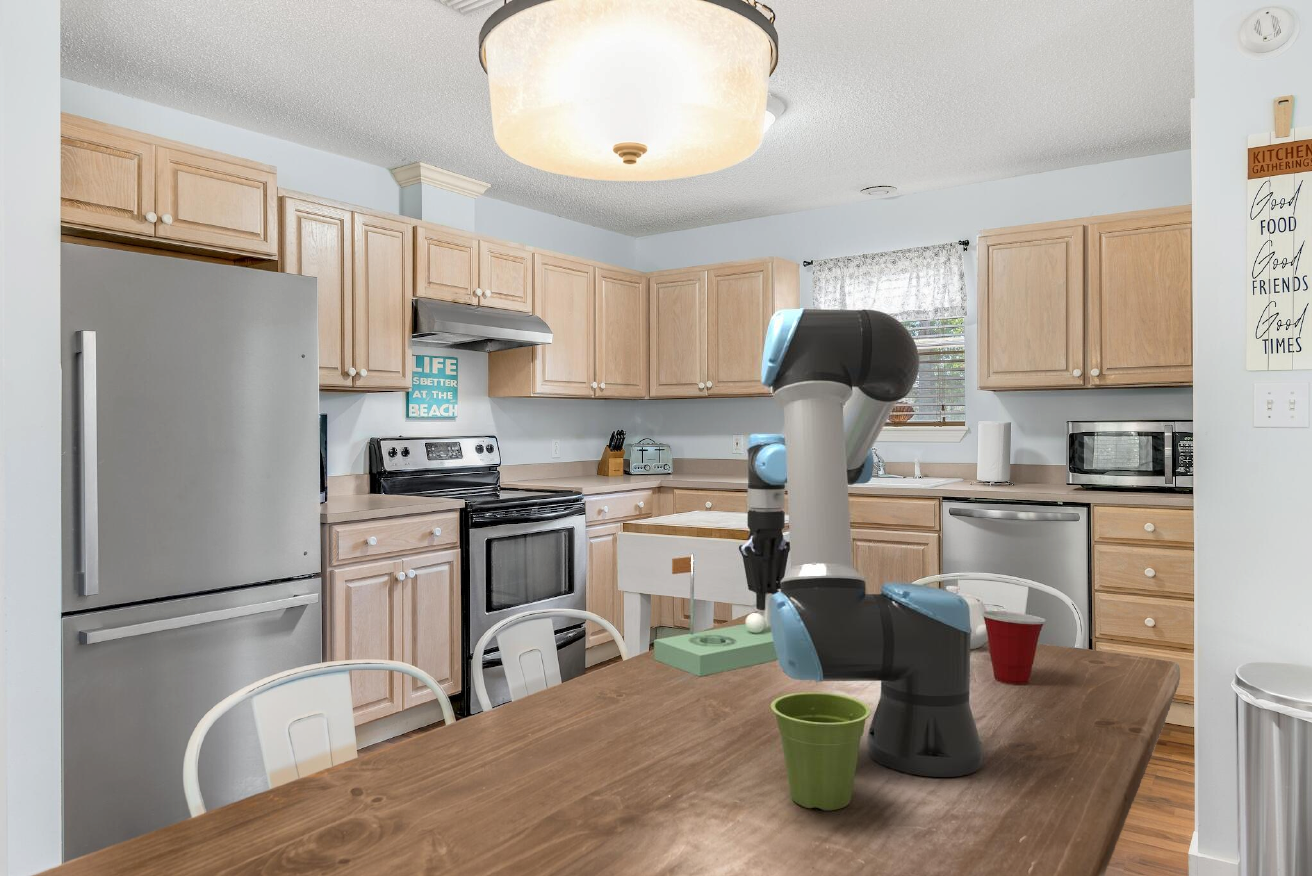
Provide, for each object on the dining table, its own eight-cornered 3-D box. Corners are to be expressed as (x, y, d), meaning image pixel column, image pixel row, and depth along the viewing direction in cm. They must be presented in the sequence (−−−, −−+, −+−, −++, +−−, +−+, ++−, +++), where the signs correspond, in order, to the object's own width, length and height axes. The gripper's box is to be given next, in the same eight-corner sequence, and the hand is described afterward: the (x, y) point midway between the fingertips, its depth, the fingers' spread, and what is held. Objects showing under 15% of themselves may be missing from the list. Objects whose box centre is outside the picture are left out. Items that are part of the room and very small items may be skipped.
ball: (765, 637, 171) (752, 631, 169) (751, 633, 174) (738, 627, 172) (771, 618, 172) (758, 611, 170) (758, 615, 175) (745, 608, 173)
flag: (673, 637, 167) (673, 556, 167) (670, 637, 168) (671, 556, 168) (694, 634, 170) (694, 554, 170) (691, 633, 171) (692, 553, 171)
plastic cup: (1057, 682, 153) (1058, 615, 153) (1023, 692, 146) (1024, 623, 146) (1002, 668, 161) (1003, 605, 161) (967, 677, 155) (968, 611, 155)
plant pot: (800, 771, 112) (801, 685, 112) (886, 796, 104) (887, 704, 104) (751, 801, 102) (752, 708, 102) (841, 831, 95) (842, 730, 95)
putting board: (699, 676, 154) (700, 655, 154) (653, 659, 166) (654, 639, 166) (821, 650, 173) (821, 631, 173) (772, 636, 185) (772, 619, 185)
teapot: (885, 637, 186) (885, 581, 186) (934, 628, 194) (934, 574, 194) (980, 665, 164) (981, 601, 164) (1032, 653, 172) (1032, 593, 172)
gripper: (755, 512, 166) (754, 633, 167) (802, 509, 174) (801, 624, 174) (729, 509, 172) (728, 625, 173) (776, 506, 180) (775, 617, 180)
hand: (765, 625), depth 174 cm, fingers closed
